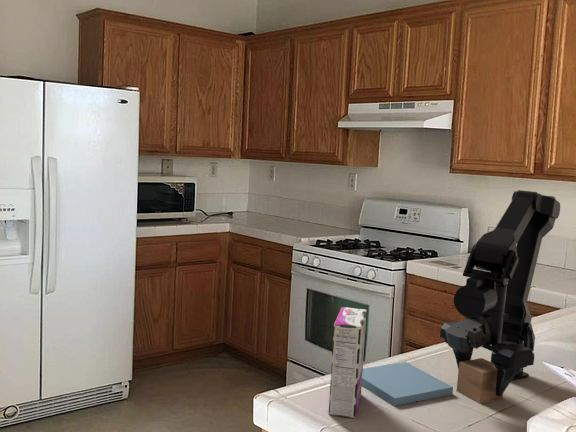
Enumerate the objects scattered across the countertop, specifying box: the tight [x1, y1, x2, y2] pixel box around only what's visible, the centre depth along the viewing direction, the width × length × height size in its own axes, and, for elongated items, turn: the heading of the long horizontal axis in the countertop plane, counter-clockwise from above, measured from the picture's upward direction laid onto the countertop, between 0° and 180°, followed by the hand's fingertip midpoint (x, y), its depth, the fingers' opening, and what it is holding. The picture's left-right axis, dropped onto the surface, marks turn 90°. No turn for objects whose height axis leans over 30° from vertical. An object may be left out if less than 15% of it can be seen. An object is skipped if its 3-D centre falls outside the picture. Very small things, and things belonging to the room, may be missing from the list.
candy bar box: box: [328, 306, 367, 419], centre depth 113 cm, size 11×5×16 cm, turn 168°
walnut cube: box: [456, 357, 504, 404], centre depth 121 cm, size 6×6×6 cm
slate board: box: [361, 361, 454, 407], centre depth 124 cm, size 14×14×2 cm
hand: (480, 386), depth 122 cm, fingers open, 9 cm apart
